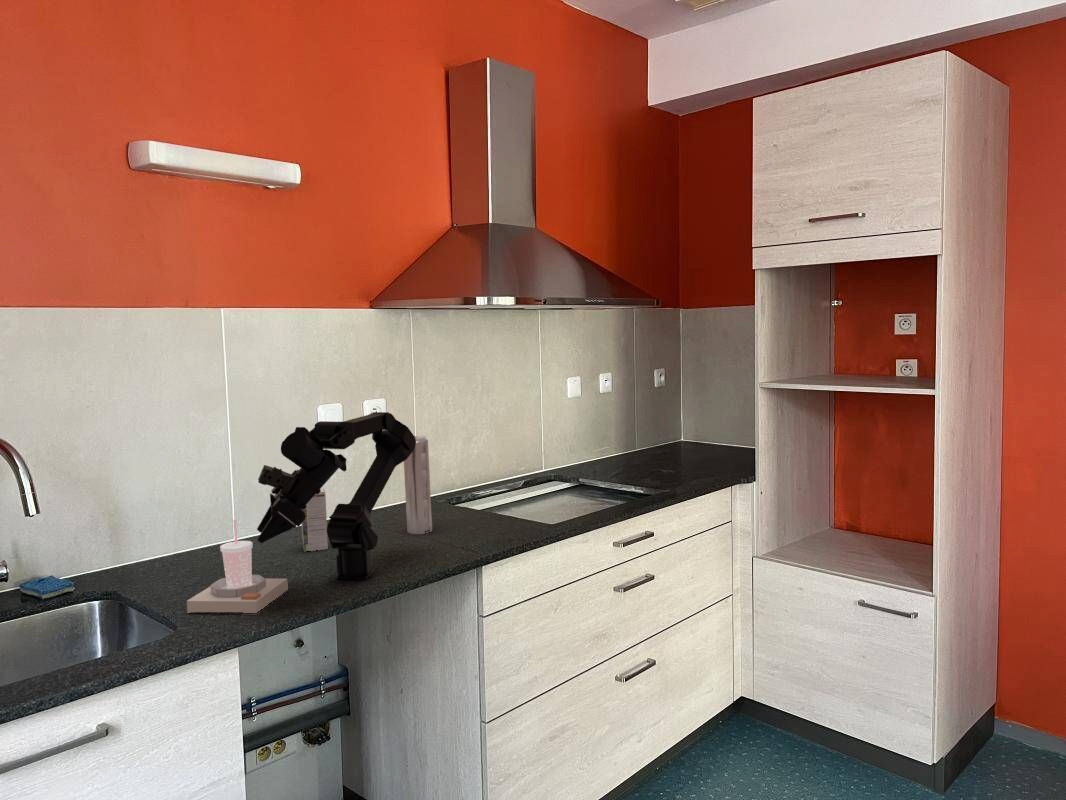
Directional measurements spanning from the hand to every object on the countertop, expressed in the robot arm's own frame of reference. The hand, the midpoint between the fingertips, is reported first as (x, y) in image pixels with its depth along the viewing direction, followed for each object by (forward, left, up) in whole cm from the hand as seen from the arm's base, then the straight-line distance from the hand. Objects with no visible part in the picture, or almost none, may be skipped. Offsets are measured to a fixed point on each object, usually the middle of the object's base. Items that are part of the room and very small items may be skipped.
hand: (258, 536), depth 163 cm
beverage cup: (+4, +2, -10) cm, 11 cm away
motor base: (+4, +2, -13) cm, 13 cm away
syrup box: (+4, -37, -13) cm, 39 cm away
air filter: (-18, -53, -13) cm, 57 cm away
